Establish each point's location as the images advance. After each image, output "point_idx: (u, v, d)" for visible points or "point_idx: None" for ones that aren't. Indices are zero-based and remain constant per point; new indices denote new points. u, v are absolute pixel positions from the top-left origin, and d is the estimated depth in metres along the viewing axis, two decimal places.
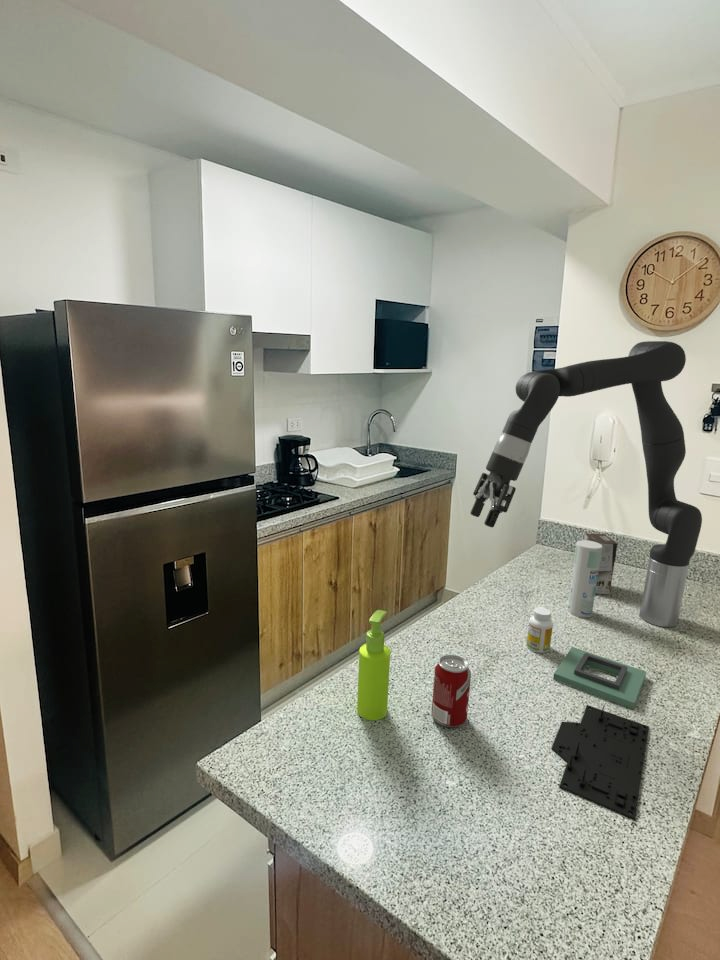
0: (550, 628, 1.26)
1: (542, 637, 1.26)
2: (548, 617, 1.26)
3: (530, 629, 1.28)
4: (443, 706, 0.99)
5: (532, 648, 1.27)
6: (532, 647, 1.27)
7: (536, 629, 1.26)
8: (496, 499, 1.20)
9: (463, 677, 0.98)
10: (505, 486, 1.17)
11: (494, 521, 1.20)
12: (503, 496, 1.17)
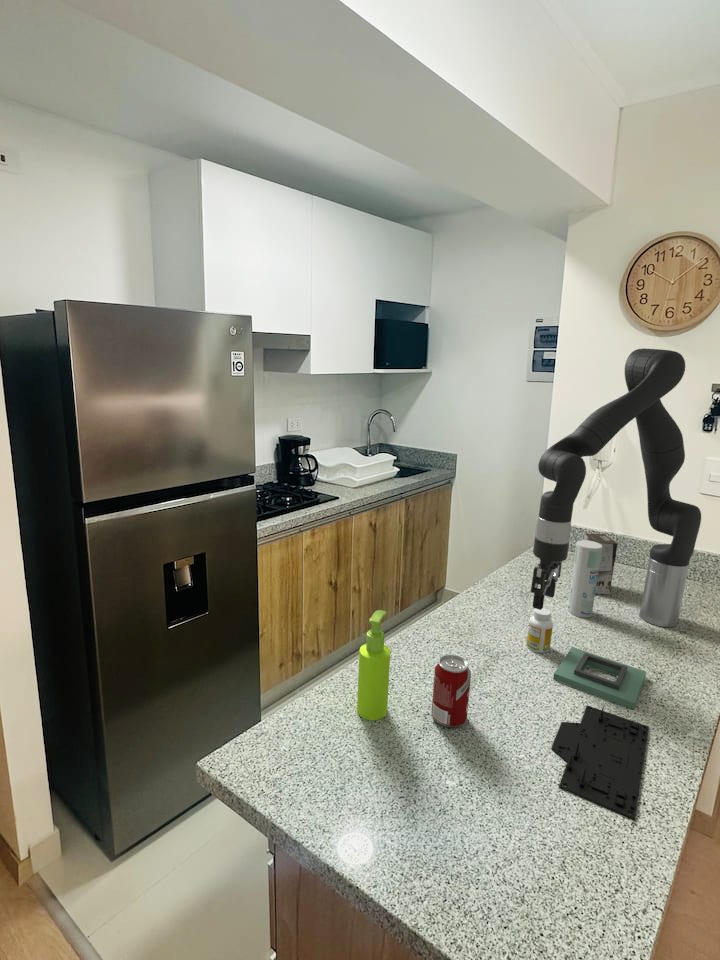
0: (550, 628, 1.26)
1: (542, 637, 1.26)
2: (548, 617, 1.26)
3: (530, 629, 1.28)
4: (443, 706, 0.99)
5: (532, 648, 1.27)
6: (532, 647, 1.27)
7: (536, 629, 1.26)
8: None
9: (463, 677, 0.98)
10: (534, 569, 1.20)
11: (538, 603, 1.22)
12: (533, 579, 1.20)
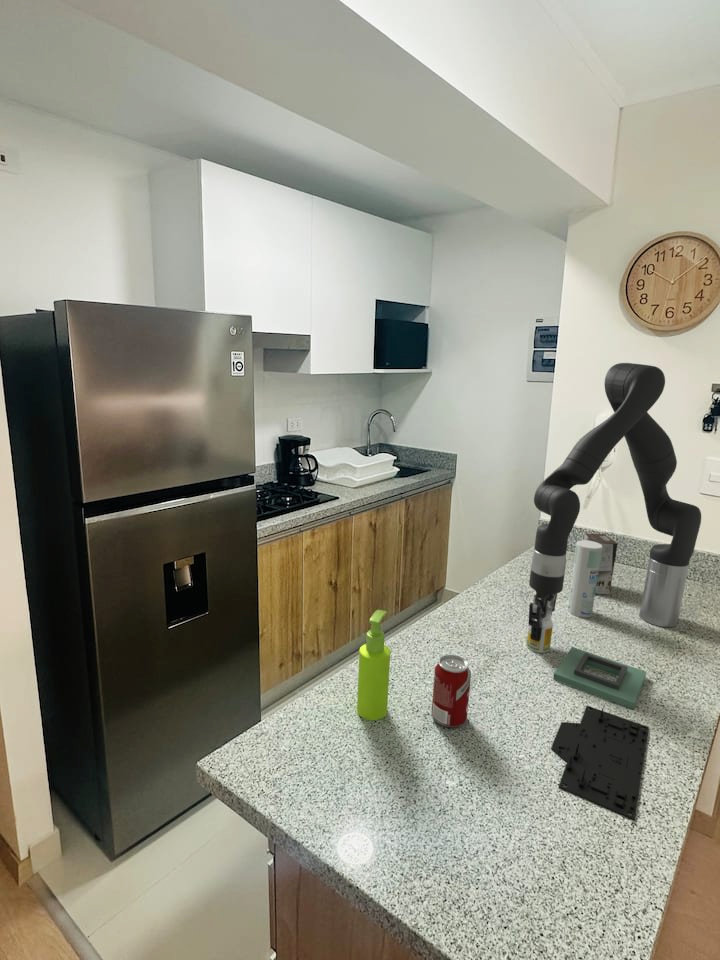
0: (550, 628, 1.26)
1: (542, 637, 1.26)
2: (548, 617, 1.26)
3: (530, 629, 1.27)
4: (443, 706, 0.99)
5: (532, 648, 1.27)
6: (532, 647, 1.27)
7: None
8: None
9: (463, 677, 0.98)
10: (529, 605, 1.22)
11: (536, 635, 1.25)
12: (530, 614, 1.22)
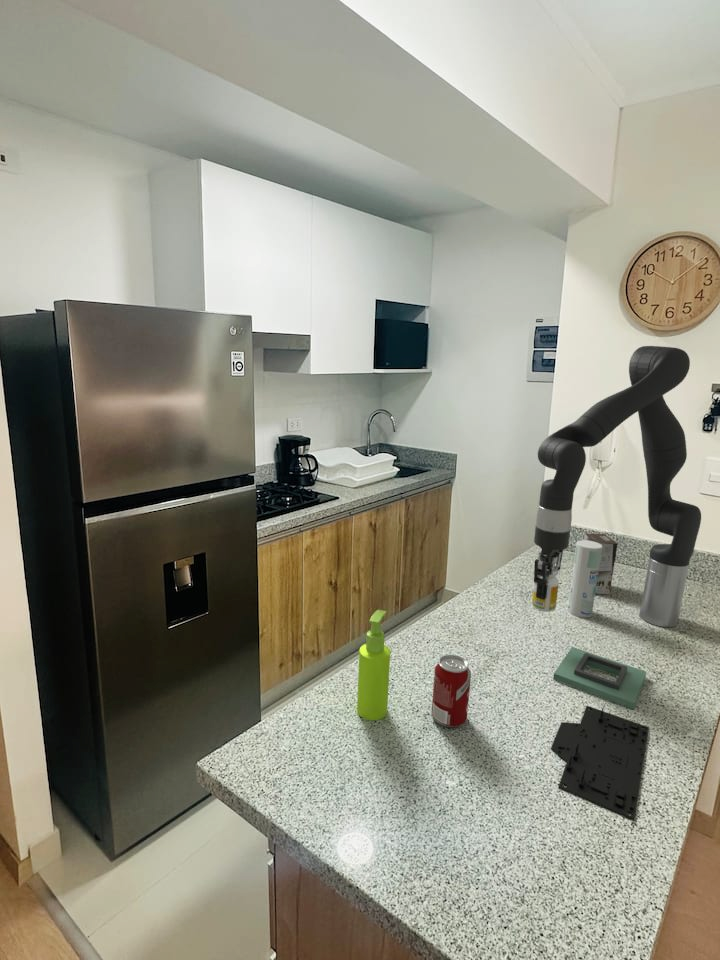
0: (556, 586, 1.23)
1: (548, 595, 1.23)
2: (554, 575, 1.23)
3: (535, 588, 1.25)
4: (443, 706, 0.99)
5: (537, 607, 1.25)
6: (538, 606, 1.25)
7: None
8: None
9: (463, 677, 0.98)
10: (535, 562, 1.19)
11: (541, 593, 1.22)
12: (535, 571, 1.20)
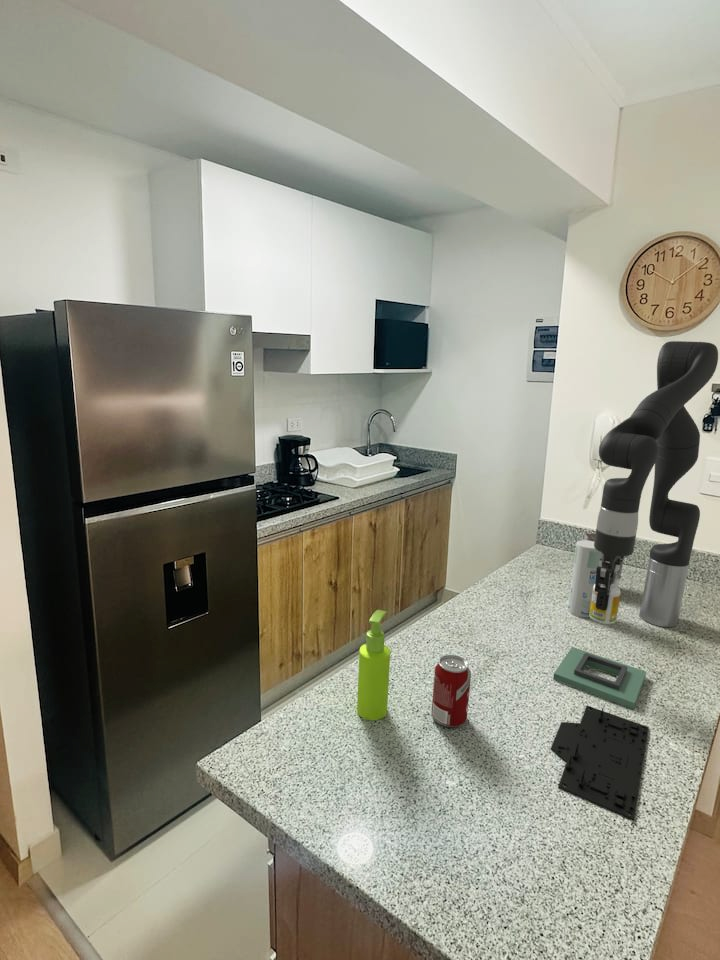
0: (618, 596, 1.12)
1: (609, 605, 1.12)
2: (616, 583, 1.12)
3: (594, 597, 1.14)
4: (443, 706, 0.99)
5: (596, 619, 1.14)
6: (597, 617, 1.14)
7: None
8: None
9: (463, 677, 0.98)
10: (597, 569, 1.08)
11: (602, 604, 1.11)
12: (597, 579, 1.09)
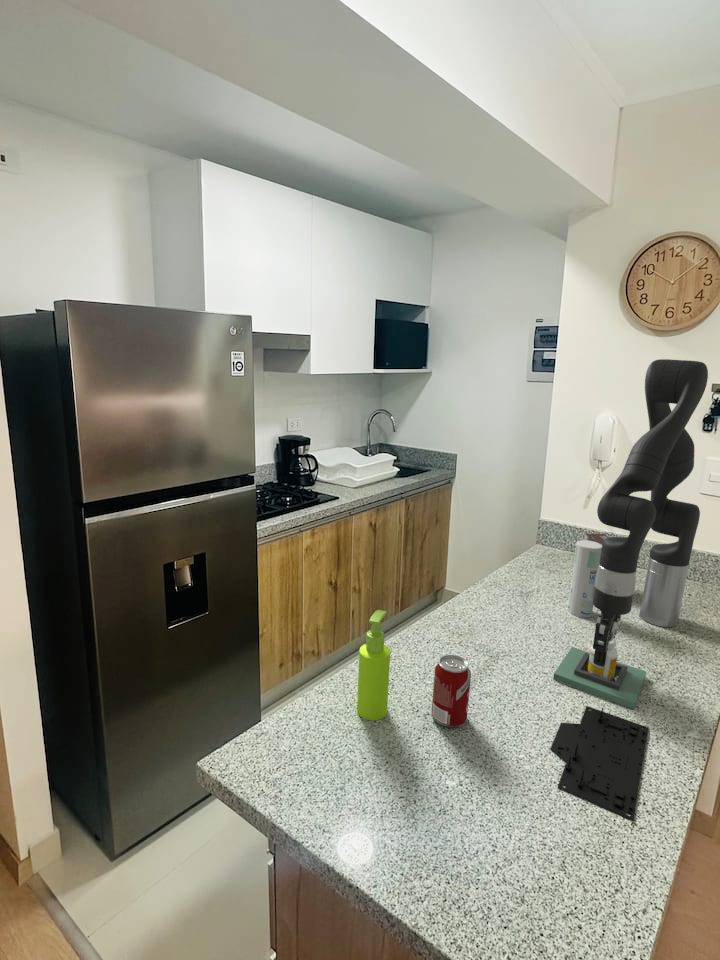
0: (615, 658, 1.14)
1: (606, 667, 1.14)
2: (613, 646, 1.14)
3: (592, 659, 1.16)
4: (443, 706, 0.99)
5: None
6: None
7: None
8: None
9: (463, 677, 0.98)
10: (596, 625, 1.10)
11: (600, 660, 1.12)
12: (595, 636, 1.10)
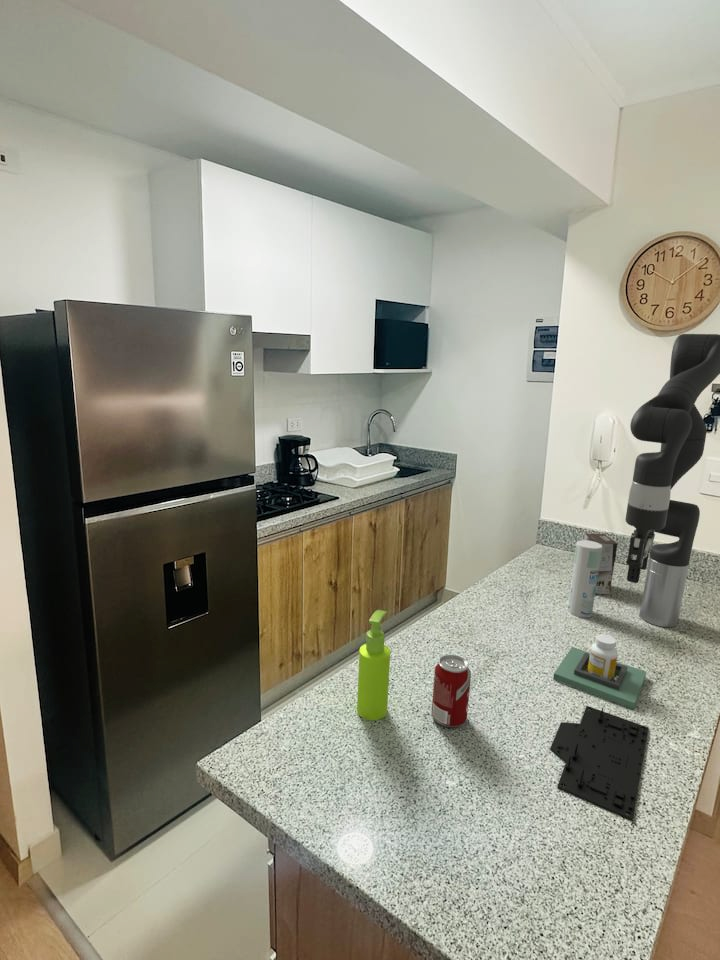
0: (615, 658, 1.14)
1: (606, 667, 1.14)
2: (613, 646, 1.14)
3: (592, 659, 1.16)
4: (443, 706, 0.99)
5: None
6: None
7: (600, 659, 1.14)
8: None
9: (463, 677, 0.98)
10: (630, 539, 1.09)
11: (634, 576, 1.11)
12: (630, 550, 1.09)
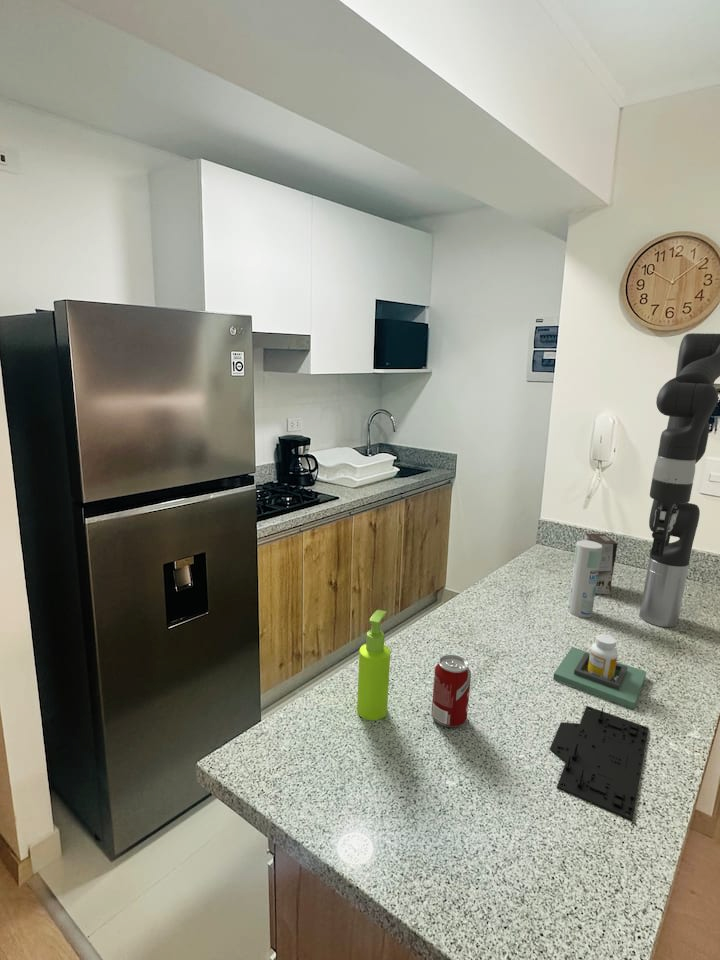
0: (615, 658, 1.14)
1: (606, 667, 1.14)
2: (613, 646, 1.14)
3: (592, 659, 1.16)
4: (443, 706, 0.99)
5: None
6: None
7: (600, 659, 1.14)
8: (658, 526, 1.13)
9: (463, 677, 0.98)
10: (656, 512, 1.10)
11: (659, 550, 1.12)
12: (656, 523, 1.10)
